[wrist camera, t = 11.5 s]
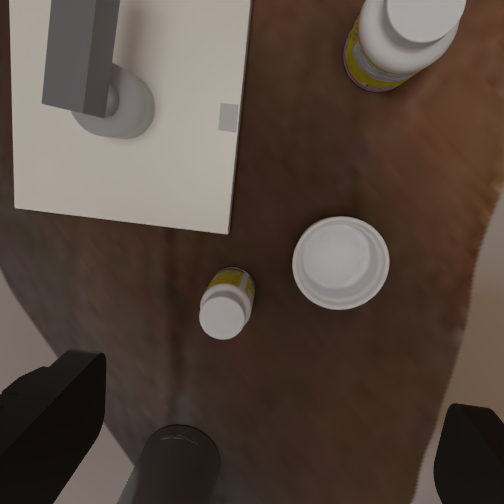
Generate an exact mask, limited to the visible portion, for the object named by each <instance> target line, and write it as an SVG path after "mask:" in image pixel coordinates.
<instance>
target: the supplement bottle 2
mask: <svg viewBox="0 0 504 504" xmlns="http://www.w3.org/2000/svg"><path fill="white" fill-rule="evenodd" d="M465 4H466V0H365V3H364V5H363V7H362V9H361V11H360V13H359V15H358V17H357V19H356V21H355V23H354V25H353V27H352V29H351V31H350V33H349V35H348V37H347V40H346V43H345V47H344V64H345V68H346V71H347V73H348V75H349V76H350V78H351V79H352V80H353V81H354V82H355V83H356V84H357V85H358V86H360V87H361V88H363V89H366V90H368V91H374V92H381V91H387V90H390V89H393V88H395V87H397V86H399V85H400V84H402V83H403V82H405V81H406V80H408V79H409V78H411V77H412V76H414V75H415V74H417V73H418V72H420V71H421V70H423V69H424V68H426V67H427V66H429V65H431V64H432V63H433V62H435V61H436V60H437V59H439V58H440V57H441V56H442V55H443V54H444V52H445V51H446V50H447V49H448V47H449V46H450V44H451V43H452V41H453V39H454V37H455V35H456V32H457V29H458V25H459V20H460V18H461V16H462V14H463V11H464V8H465Z"/></svg>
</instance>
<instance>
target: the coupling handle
mask: <svg viewBox="0 0 504 504" xmlns="http://www.w3.org/2000/svg"><path fill="white" fill-rule="evenodd" d="M119 6H120V0H51V9H50V20H49V30H48V41H47V51H46V62H45V72H44V83H43V93H42V104H45V105H49V106H53V107H57V108H62V109H66V110H70V111H74V112H79V113H83V114H87V115H92V116H96V117H100V118H105V117H108V116H110V115H112V114H113V113H114V112H115V111H116V109H117V107H118V103H119V96H118V92H117V90H116V88H115V87H114V86H113V85H112V84H111V83H110V74H111V66H112V59H113V51H114V44H115V36H116V28H117V21H118V13H119Z"/></svg>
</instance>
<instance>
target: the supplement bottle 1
mask: <svg viewBox="0 0 504 504" xmlns="http://www.w3.org/2000/svg"><path fill="white" fill-rule="evenodd" d="M254 295H255V284H254V281H253V279H252V278H251V276H250V275H249V274H248V273H247V272H245V271H244V270H242V269H239V268H235V267H229V268H225V269H222V270H221V271H219V272H218V273H217V274H216V275H215V276H214V277H213V279H212V281H211V283H210V284H209V286H208V288H207V290H206V291H205V293H204V295H203V297H202V299H201V303H200V315H199V320H200V324H201V326H202V328H203V330H204V331H205V332H206V333H207V334H208V335H210V336H211V337H213V338H216V339H230V338H232V337H234V336H236V335H237V334H238V333H239V332H240V331H241V330H242V328H243V326H244V325H245V324H246V323H247V321H248V320H249V318H250V315H251V310H252V305H253V300H254Z"/></svg>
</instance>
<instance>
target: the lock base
mask: <svg viewBox="0 0 504 504" xmlns="http://www.w3.org/2000/svg"><path fill="white" fill-rule="evenodd" d="M252 1H253V0H120V6H119V13H118V21H117V28H116V36H115V44H114V51H113V59H112V66H111V74H110V83H111V84H112V85H113V86H114V87H115V88H116V90H117V92H118V96H119V103H118V107H117V109H116V111H115V112H114V113H113V114H112V115H110V116H108V117H105V118H100V117H96V116H92V115H87V114H83V113H79V112H74V111H70V110H66V109H62V108H57V107H53V106H49V105H45V104H42V93H43V83H44V72H45V62H46V51H47V41H48V30H49V20H50V9H51V0H9V5H10V44H11V82H12V121H13V160H14V199H15V208H19V209H27V210H35V211H43V212H51V213H59V214H67V215H75V216H83V217H92V218H100V219H108V220H116V221H124V222H132V223H140V224H148V225H156V226H164V227H172V228H180V229H188V230H196V231H204V232H212V233H220V234H228V233H229V232H230V222H231V212H232V202H233V192H234V182H235V172H236V162H237V152H238V142H239V132H240V122H241V111H242V101H243V91H244V81H245V71H246V61H247V51H248V41H249V31H250V21H251V11H252Z"/></svg>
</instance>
